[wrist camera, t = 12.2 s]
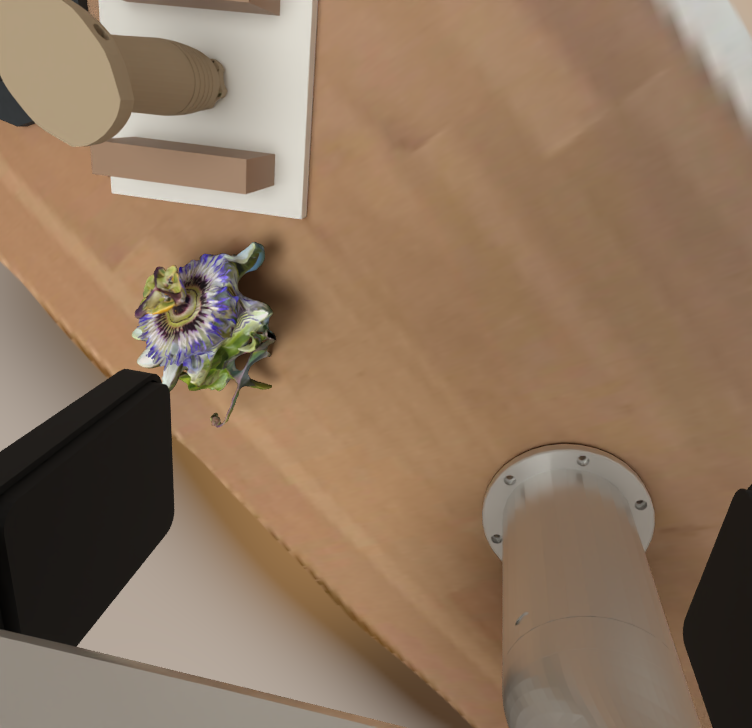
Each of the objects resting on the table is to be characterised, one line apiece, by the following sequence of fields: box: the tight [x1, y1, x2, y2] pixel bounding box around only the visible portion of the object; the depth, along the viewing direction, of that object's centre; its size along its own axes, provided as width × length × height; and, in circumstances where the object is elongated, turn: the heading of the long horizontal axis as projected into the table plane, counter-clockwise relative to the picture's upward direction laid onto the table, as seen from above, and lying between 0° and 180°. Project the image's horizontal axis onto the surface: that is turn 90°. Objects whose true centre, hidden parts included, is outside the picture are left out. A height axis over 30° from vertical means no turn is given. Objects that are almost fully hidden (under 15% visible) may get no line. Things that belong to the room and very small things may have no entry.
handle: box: [0, 0, 227, 147], centre depth 33 cm, size 5×6×15 cm
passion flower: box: [132, 242, 276, 427], centre depth 44 cm, size 11×11×12 cm
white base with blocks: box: [90, 0, 318, 219], centre depth 38 cm, size 16×14×6 cm
